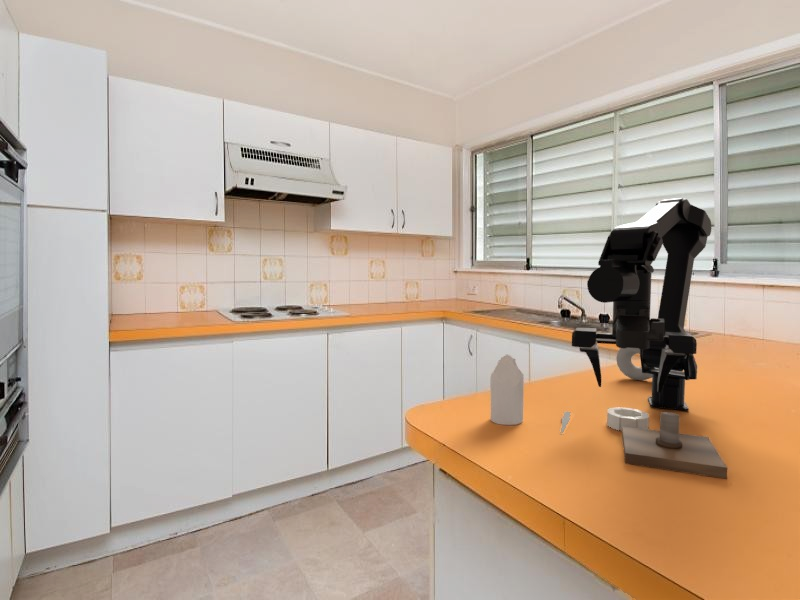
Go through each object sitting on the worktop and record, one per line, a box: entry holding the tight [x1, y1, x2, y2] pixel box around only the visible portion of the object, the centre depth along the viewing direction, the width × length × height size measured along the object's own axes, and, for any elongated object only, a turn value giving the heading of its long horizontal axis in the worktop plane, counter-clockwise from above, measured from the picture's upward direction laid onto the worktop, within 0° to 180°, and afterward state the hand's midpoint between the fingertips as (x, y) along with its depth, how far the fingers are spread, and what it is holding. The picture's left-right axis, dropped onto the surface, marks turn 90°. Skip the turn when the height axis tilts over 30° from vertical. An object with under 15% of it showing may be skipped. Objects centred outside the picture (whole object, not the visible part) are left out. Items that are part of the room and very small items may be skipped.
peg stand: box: [621, 411, 728, 480], centre depth 68 cm, size 12×12×6 cm
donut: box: [615, 348, 652, 381], centre depth 113 cm, size 10×4×10 cm, turn 57°
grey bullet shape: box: [489, 354, 525, 426], centre depth 83 cm, size 6×12×6 cm
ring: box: [606, 406, 650, 432], centre depth 80 cm, size 6×6×2 cm
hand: (628, 389), depth 80 cm, fingers open, 9 cm apart
